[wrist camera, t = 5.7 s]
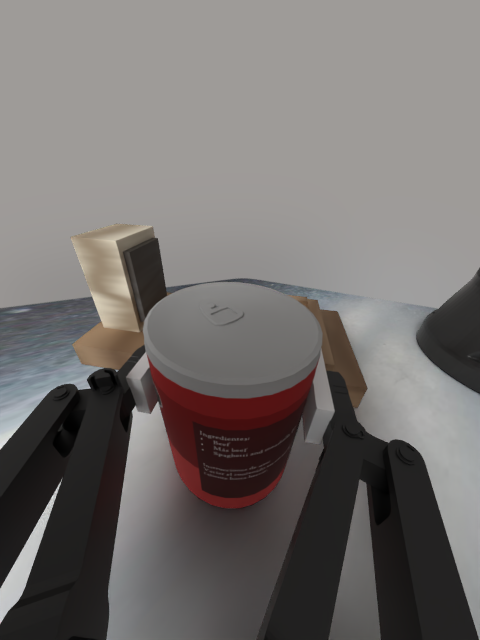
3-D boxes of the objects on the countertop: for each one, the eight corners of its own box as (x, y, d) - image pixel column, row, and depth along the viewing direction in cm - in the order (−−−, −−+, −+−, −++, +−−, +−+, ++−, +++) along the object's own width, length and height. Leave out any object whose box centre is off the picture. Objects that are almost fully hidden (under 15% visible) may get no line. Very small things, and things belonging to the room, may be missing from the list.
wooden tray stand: (332, 328, 29) (362, 235, 23) (357, 407, 19) (423, 282, 13) (144, 305, 32) (124, 218, 26) (81, 363, 22) (24, 245, 16)
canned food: (217, 385, 20) (214, 270, 14) (301, 431, 17) (343, 307, 11) (148, 460, 15) (96, 325, 9) (251, 551, 12) (281, 433, 5)
